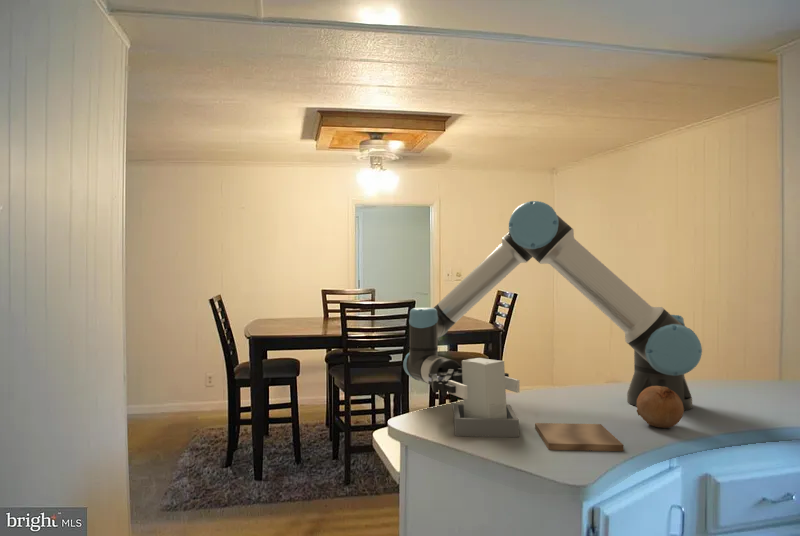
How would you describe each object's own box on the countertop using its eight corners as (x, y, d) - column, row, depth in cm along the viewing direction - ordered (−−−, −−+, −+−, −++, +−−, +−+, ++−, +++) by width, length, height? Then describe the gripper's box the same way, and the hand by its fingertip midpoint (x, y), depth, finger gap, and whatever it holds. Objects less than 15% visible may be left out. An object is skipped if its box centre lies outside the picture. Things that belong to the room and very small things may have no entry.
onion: (674, 444, 114) (689, 408, 110) (629, 427, 118) (641, 391, 113) (676, 418, 122) (690, 383, 117) (633, 403, 125) (645, 369, 121)
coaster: (600, 429, 114) (600, 424, 115) (623, 451, 101) (623, 444, 101) (535, 428, 115) (535, 422, 115) (548, 449, 101) (548, 443, 101)
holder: (510, 419, 122) (510, 404, 122) (518, 437, 109) (518, 420, 109) (453, 418, 123) (453, 403, 123) (455, 435, 110) (455, 419, 110)
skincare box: (507, 430, 114) (507, 361, 115) (487, 434, 111) (486, 363, 111) (481, 421, 121) (481, 356, 122) (461, 425, 118) (461, 358, 118)
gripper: (483, 383, 138) (538, 400, 119) (397, 392, 127) (442, 413, 108) (483, 354, 138) (538, 367, 119) (397, 361, 127) (442, 376, 108)
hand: (492, 389), depth 113 cm, fingers open, 13 cm apart
